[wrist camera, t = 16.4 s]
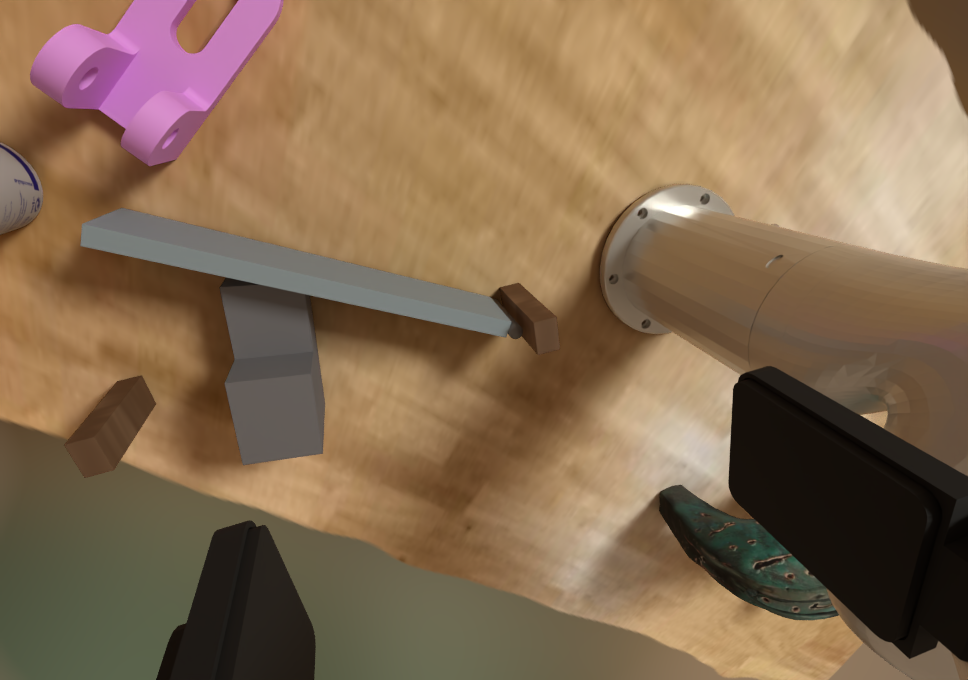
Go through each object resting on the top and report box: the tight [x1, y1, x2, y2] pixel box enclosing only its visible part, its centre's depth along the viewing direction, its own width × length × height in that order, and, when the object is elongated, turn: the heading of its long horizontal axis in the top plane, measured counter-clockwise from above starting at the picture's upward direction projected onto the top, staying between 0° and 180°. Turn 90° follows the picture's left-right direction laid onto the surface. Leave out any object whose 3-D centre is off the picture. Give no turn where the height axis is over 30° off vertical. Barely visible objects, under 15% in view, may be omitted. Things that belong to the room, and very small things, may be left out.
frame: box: [64, 283, 560, 478], centre depth 36 cm, size 30×2×8 cm, turn 99°
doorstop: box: [220, 278, 325, 465], centre depth 35 cm, size 5×11×7 cm, turn 0°
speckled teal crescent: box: [659, 485, 839, 620], centre depth 48 cm, size 20×6×20 cm, turn 97°
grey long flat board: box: [81, 208, 523, 339], centre depth 34 cm, size 26×1×6 cm, turn 72°
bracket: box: [30, 0, 283, 166], centre depth 27 cm, size 13×6×7 cm, turn 137°
